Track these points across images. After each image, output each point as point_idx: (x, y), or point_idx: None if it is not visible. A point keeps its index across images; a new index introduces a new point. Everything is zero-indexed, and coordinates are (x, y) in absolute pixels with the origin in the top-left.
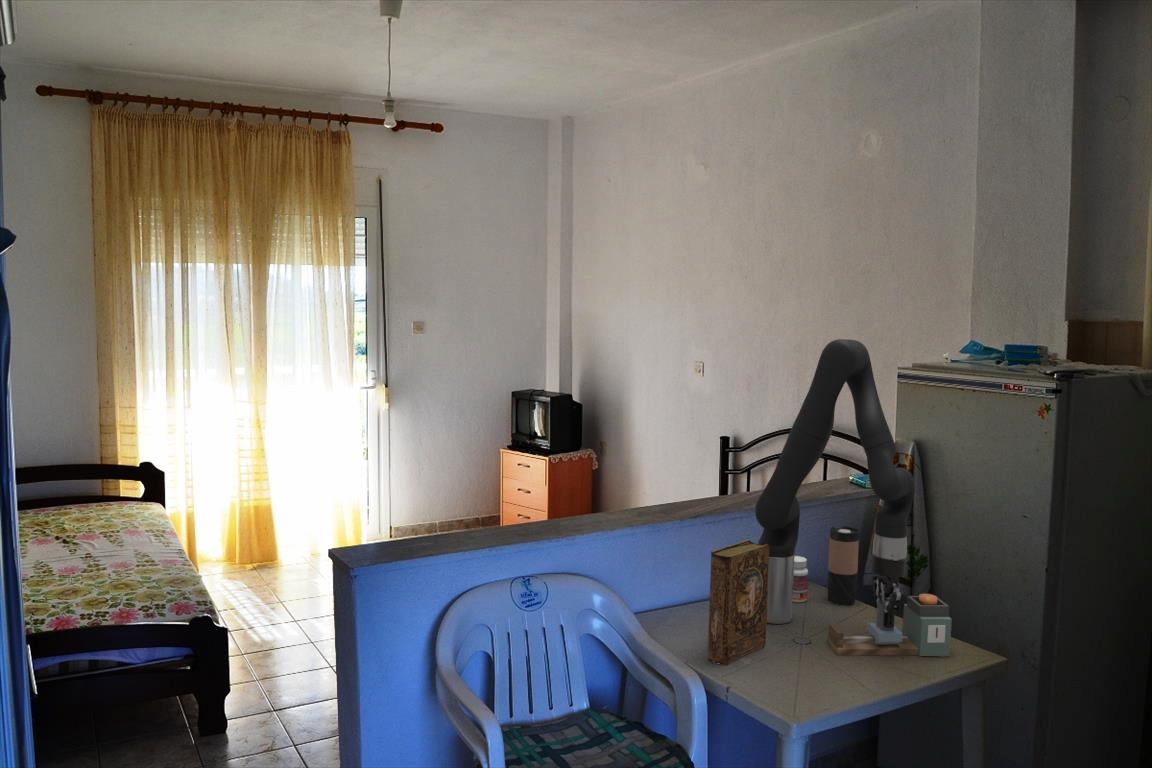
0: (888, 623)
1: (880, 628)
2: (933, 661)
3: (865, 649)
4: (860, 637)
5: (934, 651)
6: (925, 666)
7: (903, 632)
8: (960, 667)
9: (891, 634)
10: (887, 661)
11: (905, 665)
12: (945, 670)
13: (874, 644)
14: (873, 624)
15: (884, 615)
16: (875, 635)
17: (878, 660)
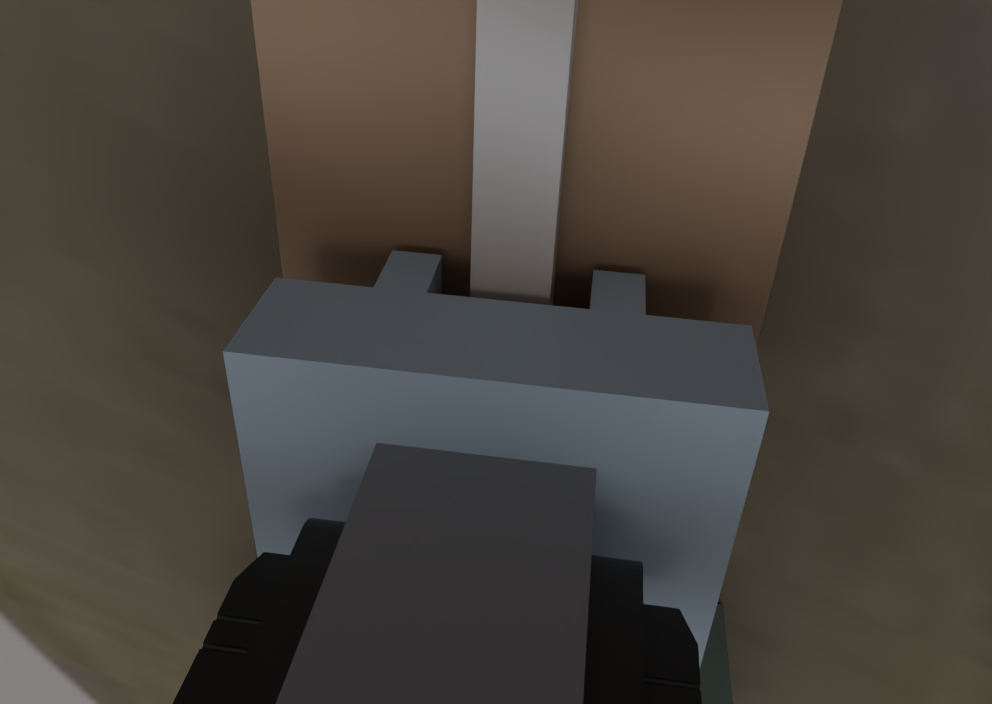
0: (226, 607)
1: (414, 460)
2: (207, 590)
3: (254, 19)
4: (517, 84)
5: None
6: (80, 489)
7: (701, 679)
8: (119, 684)
9: (255, 501)
10: (133, 206)
11: (60, 339)
12: (32, 579)
13: (435, 238)
14: (653, 450)
15: (254, 699)
16: (408, 316)
17: (144, 110)
